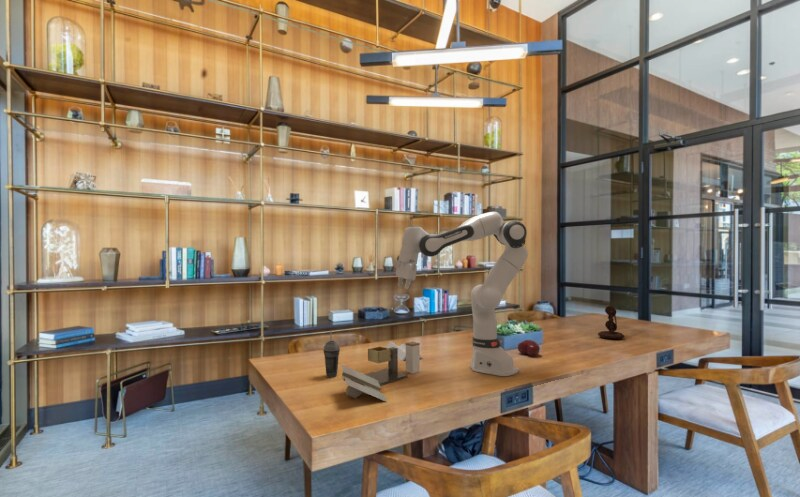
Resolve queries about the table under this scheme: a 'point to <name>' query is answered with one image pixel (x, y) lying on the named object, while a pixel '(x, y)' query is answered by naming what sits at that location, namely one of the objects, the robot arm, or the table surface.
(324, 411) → the table surface
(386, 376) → the bracket
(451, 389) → the table surface
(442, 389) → the table surface
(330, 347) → the dark travel mug
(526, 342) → the heart
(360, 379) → the grey grooved block
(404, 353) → the crown molding
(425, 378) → the table surface
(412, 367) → the rail end
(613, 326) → the dark figurine
